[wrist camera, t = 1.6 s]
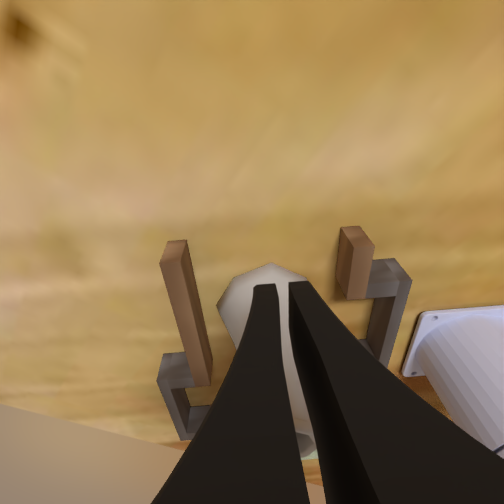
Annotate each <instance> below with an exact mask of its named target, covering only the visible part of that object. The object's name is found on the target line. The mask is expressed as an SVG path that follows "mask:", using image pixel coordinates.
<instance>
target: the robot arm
mask: <svg viewBox="0 0 504 504" xmlns="http://www.w3.org/2000/svg"><path fill="white" fill-rule="evenodd" d="M288 327H289V334H290V340H291V347H292V353H293V358H294V362H295V366H296V369H297V373H298V377H299V381H300V384H301V388H302V392H303V395H304V399H305V403H306V407H307V410H308V414H309V418H310V421H311V425H312V429H313V434H314V438H315V443H316V448H317V454H318V459H319V465H320V470H321V476H322V481H323V487H324V493H325V498H326V504H504V305H498V306H485V307H473V308H461V309H448V310H436V311H426V312H423V313H422V314H421V315H420V317H419V320H418V323H417V326H416V329H415V332H414V335H413V338H412V341H411V344H410V347H409V350H408V353H407V356H406V359H405V362H404V365H403V368H402V371H401V373H402V374H403V376H405V377H413V376H425V375H426V377H427V379H428V380H429V382H430V384H431V385H432V387H433V389H434V390H435V392H436V394H437V395H438V397H439V398H440V400H441V402H442V403H443V405H444V407H445V408H446V410H447V412H448V413H449V415H450V417H451V418H452V420H453V422H454V423H453V422H452V421H451V420H449V419H448V418H447V417H445V416H444V415H443V414H441V413H440V412H439V411H437V410H436V409H435V408H434V407H432V406H431V405H430V404H428V403H427V402H426V401H424V400H423V399H422V398H421V397H420V396H418V395H417V394H416V393H415V392H414V391H412V390H411V389H410V388H409V387H408V386H406V385H405V384H404V383H403V382H402V381H401V380H400V379H398V378H397V377H396V376H395V375H394V374H393V373H392V372H390V371H389V370H388V369H387V368H386V367H385V366H384V365H383V364H382V363H381V362H380V361H379V360H377V359H376V358H375V357H374V356H373V355H372V354H371V353H370V352H369V351H368V350H367V349H366V348H365V347H364V346H363V345H362V344H361V343H360V342H359V341H358V340H357V338H356V337H355V336H354V335H353V334H352V333H351V332H350V331H349V330H348V329H347V328H346V326H345V325H344V324H343V323H342V322H341V321H340V320H339V319H338V317H337V316H336V315H335V314H334V313H333V312H332V310H331V309H330V308H329V307H328V305H327V304H326V303H325V302H324V301H323V299H322V298H321V297H320V295H319V294H318V293H317V291H316V290H315V289H314V287H313V286H312V284H311V283H310V282H309V281H295V282H288ZM151 504H310V501H309V496H308V492H307V487H306V482H305V477H304V472H303V467H302V462H301V457H300V452H299V447H298V442H297V436H296V431H295V426H294V421H293V415H292V410H291V405H290V399H289V394H288V388H287V383H286V377H285V372H284V366H283V357H282V344H281V325H280V306H279V296H278V291H277V288H276V284H275V283H270V284H258V285H256V286H254V287H253V297H252V303H251V308H250V312H249V316H248V319H247V323H246V326H245V329H244V332H243V335H242V338H241V341H240V343H239V346H238V349H237V351H236V354H235V356H234V359H233V361H232V364H231V366H230V368H229V371H228V373H227V375H226V377H225V379H224V381H223V383H222V386H221V388H220V390H219V392H218V394H217V396H216V398H215V400H214V401H213V403H212V405H211V407H210V409H209V411H208V413H207V414H206V416H205V418H204V420H203V422H202V424H201V425H200V427H199V429H198V431H197V432H196V434H195V436H194V437H193V439H192V441H191V442H190V444H189V446H188V447H187V449H186V450H185V452H184V454H183V455H182V457H181V458H180V460H179V462H178V463H177V465H176V466H175V468H174V470H173V471H172V473H171V474H170V476H169V478H168V479H167V481H166V482H165V484H164V485H163V487H162V488H161V490H160V491H159V493H158V494H157V496H156V497H155V498H154V500H153V501H152V503H151Z"/></svg>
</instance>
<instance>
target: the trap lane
mask: <svg viewBox="0 0 504 504" xmlns="http://www.w3.org/2000/svg"><path fill="white" fill-rule="evenodd" d="M374 248H375V246H374V244H373V243H372V242H371V240H370V239H369V238H368V236H367V235H366V234H365V232H364V231H363V230H362V228H361V227H360V226H351V227H341V232H340V241H339V251H338V260H337V269H336V278H337V280H338V283H339V285H340V287H341V289H342V291H343V293H344V296H345V298H346V300H354V299H366V298H375V300H374V304H373V309H372V314H371V319H370V323H369V328H368V333H367V338H366V339H361V340H358V341H359V342H360V343H361V344H362V345H363V346H364V347H365V348H366V349H367V350H368V351H369V352H370V353H371V354H372V355H373V356H374V357H375V358H376V359H377V360H379V361H380V362H381V363H382V364H383V365H384V366H385V367H386V368H387V367H388V363H389V360H390V357H391V353H392V350H393V346H394V343H395V339H396V336H397V332H398V329H399V325H400V322H401V318H402V315H403V311H404V308H405V305H406V301H407V298H408V294H409V291H410V287H411V284H412V279H411V278H410V277H409V276H408V274H407V273H406V272H405V271H404V269H403V268H402V267H401V266H400V265H399V263H398V262H397V261H396V260H395V258H391V259H379V260H372V259H373V253H374ZM159 264H160V267H161V271H162V274H163V278H164V281H165V285H166V288H167V291H168V295H169V298H170V302H171V305H172V309H173V312H174V316H175V319H176V322H177V326H178V329H179V333H180V336H181V340H182V343H183V346H184V350H185V352H180V353H168V354H163V357H162V361H161V365H160V369H159V373H158V377H157V383H158V386H159V388H160V391H161V393H162V396H163V398H164V401H165V403H166V406H167V408H168V410H169V413H170V415H171V418H172V420H173V423H174V425H175V428H176V430H177V433H178V435H179V438H180V440H181V441H183V440H192V439H193V437H194V436H195V434H196V432H197V431H198V429H199V427H200V425H201V424H202V422H203V420H204V418H205V416H206V414H207V413H208V411H209V409H210V407H211V405H208V406H196V407H190V404H189V401H188V398H187V395H186V392H185V389H184V388H189V387H202V386H210V384H211V372H212V360H213V359H212V354H211V350H210V345H209V341H208V336H207V331H206V327H205V322H204V318H203V313H202V309H201V304H200V299H199V295H198V290H197V286H196V281H195V277H194V272H193V267H192V263H191V258H190V254H189V249H188V245H187V240H178V241H168V242H167V245H166V248H165V250H164V253H163V255H162V258H161V260H160V263H159ZM305 459H318V454H317V449H316V450H315V451H313V452H312V453H311V454H310V455H308V456H307V457H303V458H301V460H305Z"/></svg>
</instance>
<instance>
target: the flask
mask: <svg viewBox="0 0 504 504" xmlns="http://www.w3.org/2000/svg"><path fill="white" fill-rule="evenodd" d="M295 281H307V279H306V277H303V276H301V275H299V274H296V273H294V272H292V271H289V270H287V269H285V268H283V267H280V266H278V265H276V264H273V263H269V264H267V265H264V266H262V267H259V268H257V269H254V270H252V271H249V272H247V273H244V274H241V275H239V276H236V277H234V278H233V279H232V281H231V282H230V284H229V286H228V287H227V289H226V290H225V292H224V293H223V295H222V297H221V298H220V300H219V301H218V303H217V305H216V306H217V308H218V311H219V313H220V315H221V317H222V319H223V321H224V324H225V326H226V328H227V330H228V332H229V334H230V336H231V338H232V340H233V343H234V345H235V347H236V350H237V349H238V346H239V343H240V341H241V338H242V335H243V332H244V329H245V326H246V323H247V319H248V316H249V312H250V308H251V303H252V297H253V287H254V286H256V285H258V284H270V283H275V284H276V288H277V291H278V296H279V306H280V325H281V344H282V357H283V366H284V372H285V377H286V383H287V388H288V394H289V399H290V405H291V410H292V415H293V421H294V426H295V431H296V436H297V442H298V447H299V452H300V457H301V458H303V457H307V456H308V455H310V454H311V453H312V452H313V451H315V450H316V449H317V448H316V443H315V438H314V434H313V429H312V425H311V422H310V418H309V414H308V410H307V407H306V403H305V399H304V395H303V392H302V388H301V384H300V381H299V377H298V373H297V369H296V366H295V362H294V358H293V353H292V347H291V340H290V334H289V327H288V282H295Z"/></svg>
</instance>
